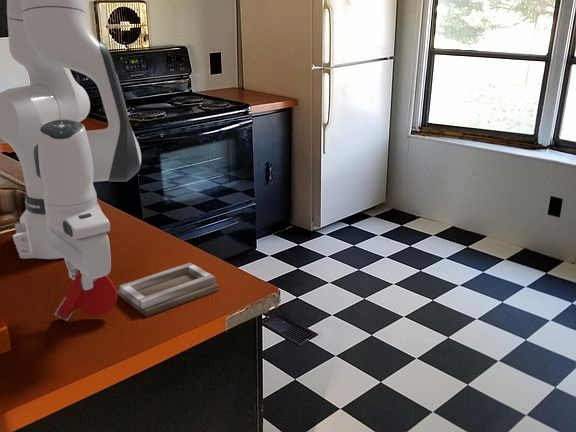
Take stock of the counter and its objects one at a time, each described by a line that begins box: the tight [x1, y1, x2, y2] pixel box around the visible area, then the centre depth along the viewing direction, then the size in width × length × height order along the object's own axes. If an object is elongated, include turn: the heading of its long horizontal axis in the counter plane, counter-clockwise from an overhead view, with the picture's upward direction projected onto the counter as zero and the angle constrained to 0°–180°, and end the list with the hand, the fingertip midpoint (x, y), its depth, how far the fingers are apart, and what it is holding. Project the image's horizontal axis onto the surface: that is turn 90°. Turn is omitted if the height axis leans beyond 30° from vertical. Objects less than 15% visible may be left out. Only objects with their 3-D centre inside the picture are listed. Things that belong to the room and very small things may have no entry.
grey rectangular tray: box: [116, 262, 220, 318], centre depth 125 cm, size 12×17×3 cm
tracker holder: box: [53, 272, 118, 322], centre depth 113 cm, size 12×4×10 cm, turn 94°
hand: (81, 283), depth 112 cm, fingers open, 4 cm apart
